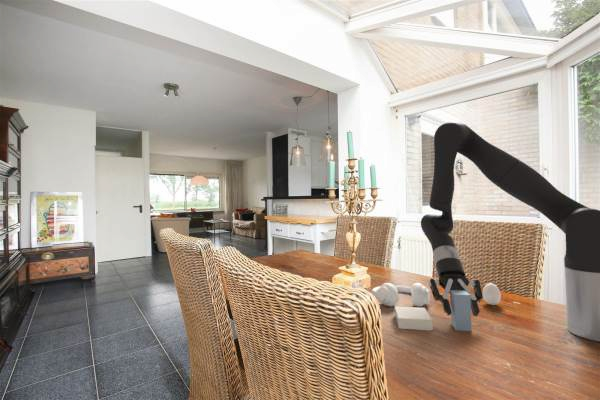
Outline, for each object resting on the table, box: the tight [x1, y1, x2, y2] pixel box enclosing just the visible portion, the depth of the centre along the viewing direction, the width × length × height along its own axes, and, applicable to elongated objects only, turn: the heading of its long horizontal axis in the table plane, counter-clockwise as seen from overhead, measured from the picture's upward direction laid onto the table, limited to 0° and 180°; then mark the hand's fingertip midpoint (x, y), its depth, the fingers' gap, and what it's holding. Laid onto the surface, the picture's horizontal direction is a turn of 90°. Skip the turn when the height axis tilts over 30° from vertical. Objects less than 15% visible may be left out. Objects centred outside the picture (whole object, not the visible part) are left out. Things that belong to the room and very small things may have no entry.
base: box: [394, 305, 433, 331], centre depth 83 cm, size 9×9×3 cm
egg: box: [481, 282, 502, 306], centre depth 95 cm, size 5×5×7 cm
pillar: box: [449, 290, 473, 332], centre depth 79 cm, size 4×4×10 cm
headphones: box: [371, 282, 431, 308], centre depth 104 cm, size 20×8×20 cm
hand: (462, 314), depth 78 cm, fingers open, 6 cm apart
